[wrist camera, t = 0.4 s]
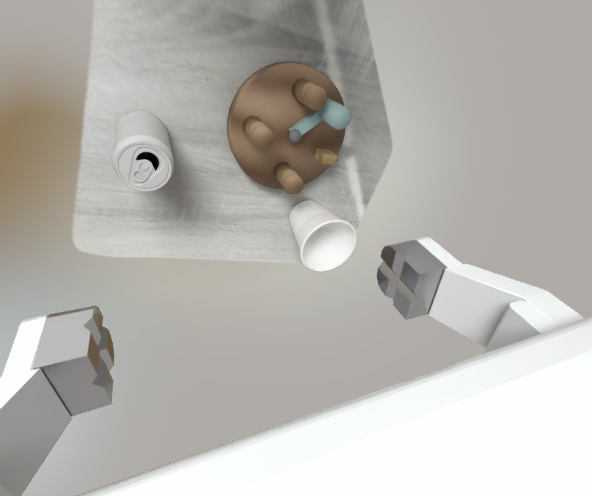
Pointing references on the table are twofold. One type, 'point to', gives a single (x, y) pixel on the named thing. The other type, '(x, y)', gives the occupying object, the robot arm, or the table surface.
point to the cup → (321, 236)
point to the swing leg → (328, 113)
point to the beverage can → (142, 151)
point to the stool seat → (283, 126)
